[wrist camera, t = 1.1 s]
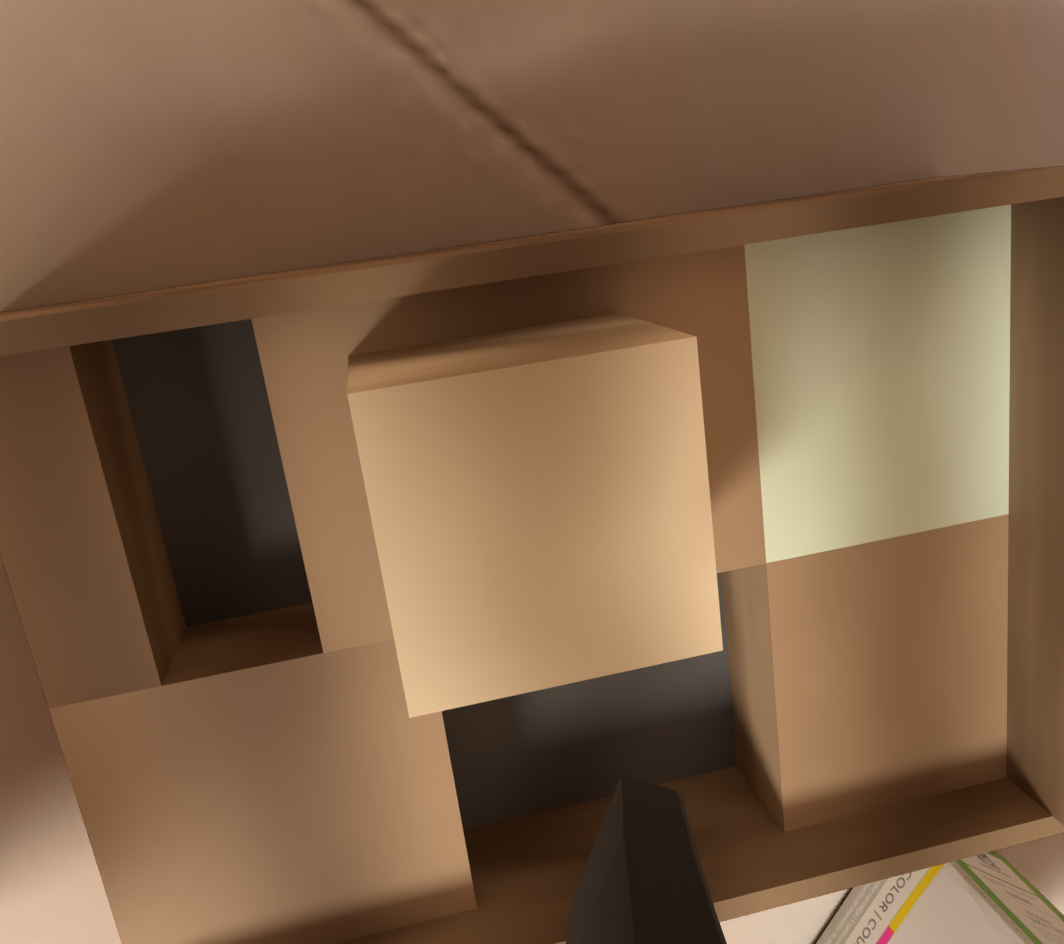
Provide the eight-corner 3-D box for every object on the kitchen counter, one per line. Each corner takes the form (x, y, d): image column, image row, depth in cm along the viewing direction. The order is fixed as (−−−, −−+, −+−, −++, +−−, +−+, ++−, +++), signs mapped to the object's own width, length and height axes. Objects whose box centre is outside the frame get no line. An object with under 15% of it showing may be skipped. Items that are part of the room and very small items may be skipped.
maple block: (397, 613, 18) (409, 718, 14) (348, 355, 16) (347, 394, 13) (646, 563, 18) (722, 650, 15) (619, 313, 17) (696, 337, 13)
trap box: (170, 909, 22) (119, 1099, 17) (-4, 312, 18) (-132, 342, 13) (947, 726, 25) (1089, 844, 20) (940, 176, 21) (1115, 160, 16)
